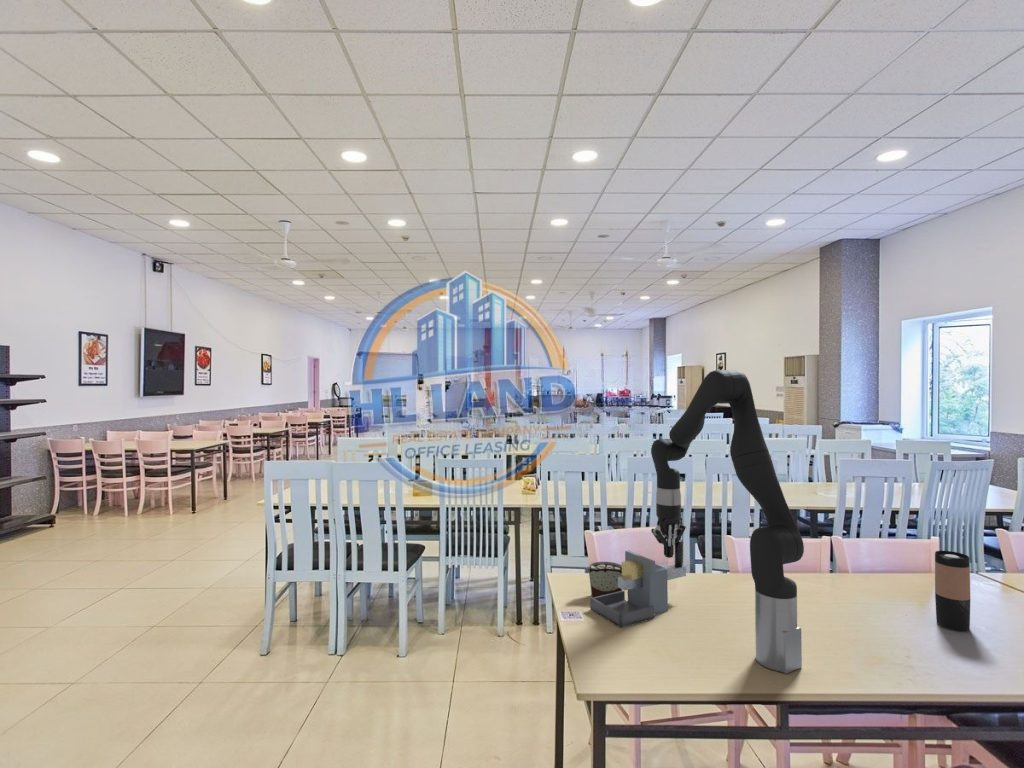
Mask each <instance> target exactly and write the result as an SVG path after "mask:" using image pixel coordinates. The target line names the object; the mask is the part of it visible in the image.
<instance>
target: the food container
mask: <svg viewBox="0 0 1024 768" xmlns="http://www.w3.org/2000/svg"><path fill="white" fill-rule="evenodd" d="M586 570H587V572H586V574H588V576H589V582H590V593H591V594H590V595H591V598H593V597H597V596H601V595H606V594H610V593H614V592H618V591H623V590H622V589H621V588H619V587H618V577H621V576H623V575H622V564H620V563H618V562H617V563H616V562H614V561H613V562H612V561H595V562H592V563H590V564H589V565H588V567H587V569H586Z"/></svg>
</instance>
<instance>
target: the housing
mask: <svg viewBox="0 0 1024 768" xmlns="http://www.w3.org/2000/svg"><path fill="white" fill-rule="evenodd" d="M624 553H625V554H624V556H625V558H624V559H625V560H624V561H629V560H635V561H638V562H640V563H642V564H643V577H642V586H641V587H637V588H633V589H629V590H627V601H628V602H630V603H632V604H633V605H635V606H637V607H639V608H645V607H648V606H654V614H655V615H658V614H661V612H662V613H666V612H668V611H669V610H668V607H669V606H668V605H669V604H668V602H669V601H668V594H669V593H668V589H669V588H668V580H667V569H666V568H663V567H664V566H661V565H658V564H656V560H653V559H651V558H648V557H646V556H643V555H640V554H639V553H636V552H633V551H631V550H625V551H624Z"/></svg>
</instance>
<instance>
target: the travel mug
mask: <svg viewBox="0 0 1024 768" xmlns="http://www.w3.org/2000/svg"><path fill="white" fill-rule="evenodd" d="M970 562H971V561H970V557H969V556H968V555H967V554H964V553H961V552H957V551H950V550H936V551H934V601H935V618H936V624H937V625H938V626H940V627H942V628H944V629H947V630H950V631H955V632H962V633H963V632H964V633H965V632H970V627H971V573H970V572H971V567H970Z"/></svg>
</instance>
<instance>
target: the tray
mask: <svg viewBox="0 0 1024 768" xmlns="http://www.w3.org/2000/svg"><path fill="white" fill-rule="evenodd" d="M625 594H626V590H625V591H624V590H622V591H618V592H614V593H610V594H606V595H601V596H597V597H593V598H592V597H590V610H591V611H592V612H594V613H595V614H597V615H599V616H600V617H602V618H604V619H605V618H606V619H605V620H607V621H608V620H609V621H608V622H610V623H612V624H613V623H614V625H615V626H617V627H618V626H619V627H618V628H620V629H622V628H626V627H628V626H632V624H633V625H636V624H639V623H643V622H647V621H650V619H651V620H654V619H655V615H654V606H648V607H645V608H639V607H637V606H635V605H633V604H632V603H630V602H628V600H626V599H625V597H626V595H625ZM653 618H654V619H653ZM646 620H647V621H646ZM625 626H626V627H625Z"/></svg>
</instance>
